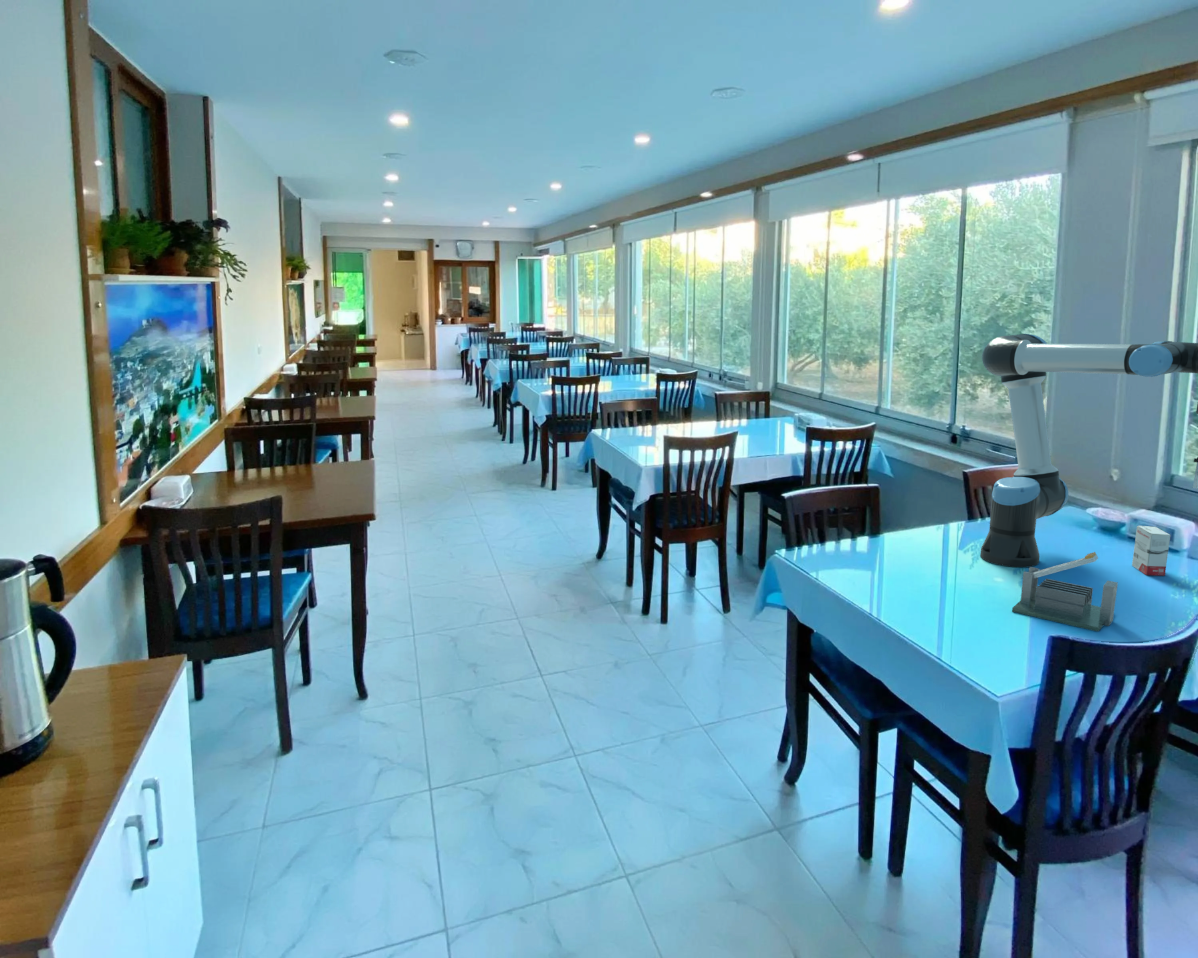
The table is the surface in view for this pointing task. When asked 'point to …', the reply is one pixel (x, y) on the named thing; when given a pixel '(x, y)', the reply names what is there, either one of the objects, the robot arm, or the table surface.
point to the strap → (1066, 565)
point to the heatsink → (1066, 602)
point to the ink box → (1151, 550)
